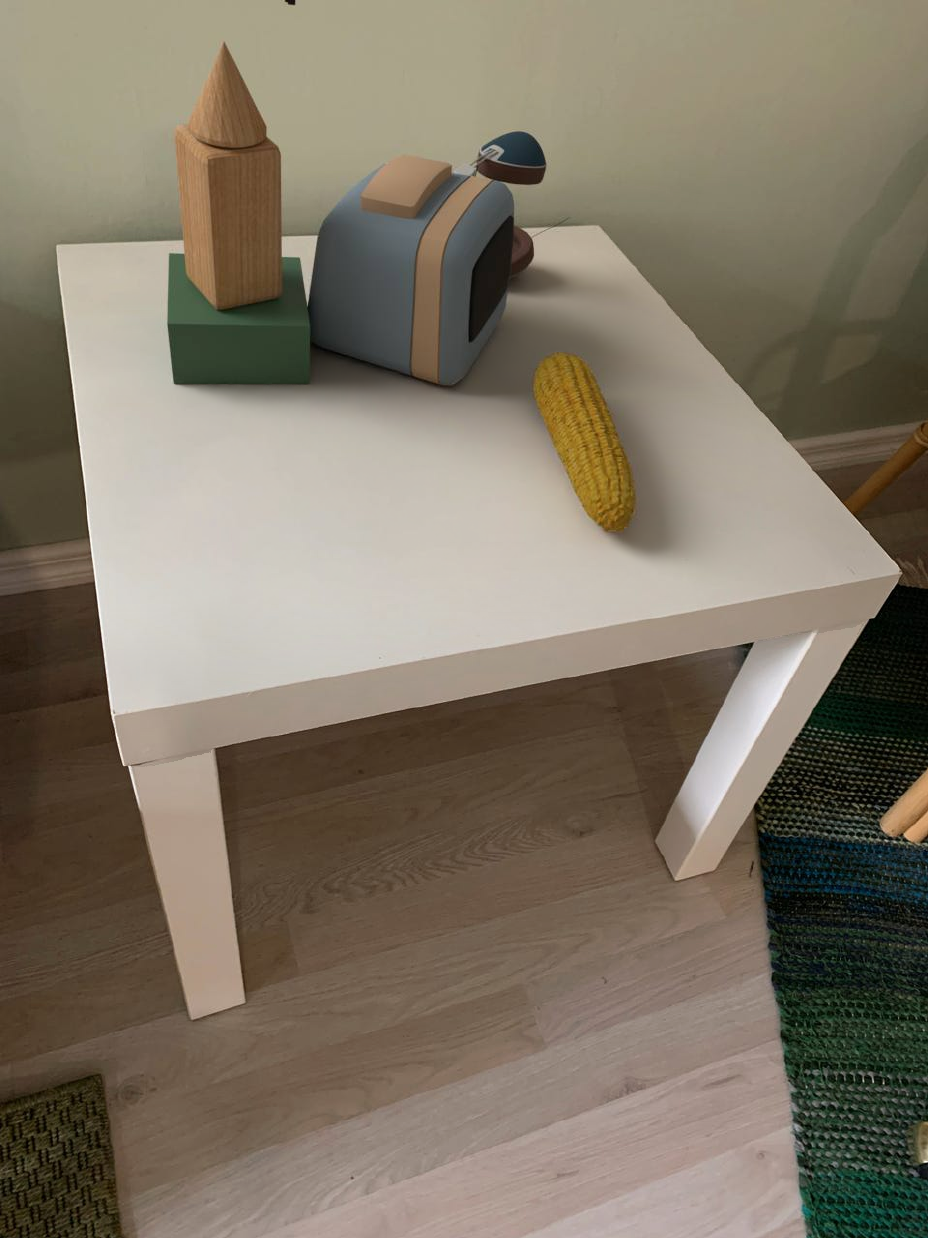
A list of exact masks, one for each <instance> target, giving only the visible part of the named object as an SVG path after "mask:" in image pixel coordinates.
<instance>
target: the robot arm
mask: <svg viewBox="0 0 928 1238" xmlns="http://www.w3.org/2000/svg"><path fill="white" fill-rule="evenodd" d="M284 2H285V3H287V5H290V6H296V0H284Z"/></svg>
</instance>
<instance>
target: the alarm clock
mask: <svg viewBox="0 0 928 1238" xmlns="http://www.w3.org/2000/svg"><path fill="white" fill-rule="evenodd" d="M514 200H515V199H514V195H513V193H512V191H511V190H510V188H509V187H508V186H507V184H506V183H505V182H500V181H496V180H492V179H489V178H486V177H479V176H476V177H474V176H468V175H462V174H456V173H453V164H452V163H449V162H445V161H439V160H434V159H430V158H424V157H418V156H413V155H408V154H402V155H399V156H396V157H394V158H393V159H391V160H390V161H388V162H387V163H383V164H382V165H380V166H379V167H377V168H376V169H374V170H372V171H371V172H370V173H368V174H367V175H366V176H365V177H363V178H362V179H360V180H359V181H358V182H357V183H356V184H354V185H353V186H352V187H350V189H349V190H348V191H347V192H346V193H345V195H344V196H343V197H342V198H340V200H338V202H337V203H336V204H335V206H333V208H332V209H331V210H330V211H329V212H328V214H327V215H326V216H325V218H324V219H323V220H322V223H321V225H320V228H319V231H318V235H317V238H316V244H315V252H314V258H313V266H312V271H311V272H312V273H311V280H310V287H309V294H308V299H307V300H308V301H307V307H308V314H309V320H310V342H311V343H312V344H315V345H316V346H318V347H319V348H321V349H324V350H328V351H330V352H334V353H338V354H341V355H344V356H347V357H351V358H353V359H357V360H360V361H364V362H366V363H369V364H372V365H376V366H379V367H383V368H385V369H389V370H391V371H394V372H399V373H402V374H404V375H408V376H410V377H414V378H418V379H419V380H420V379H421V380H424V381H427V382H430V383H433V384H437V385H440V386H453V385H454V384H456V383H458V382H459V381H461V380H462V379H464V378H465V377H466V375H467V374H468V373H469V370H470V369H471V367H472V365H473V364H474V363H475V361H476V359H477V358H478V356H479V354H480V353H481V351H482V350H483V348H484V347H485V345H486V343H487V342H488V340H489V339H490V337H491V336H492V335H493V332H494V330H495V329H496V327H497V326H498V324H499V322H501V320H502V318H503V315H504V313H505V310H506V305H507V298H508V292H509V288H510V287H509V286H510V279H511V278H510V271H511V261H512V249H513V235H514V226H515V202H514Z"/></svg>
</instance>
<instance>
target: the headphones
mask: <svg viewBox="0 0 928 1238" xmlns="http://www.w3.org/2000/svg"><path fill="white" fill-rule="evenodd" d="M546 170H547V160H546V157H545V153H544V151H543V147H542V146H541V145H540V143H539V142H538V140H537V139H536V138H535V137H534V136H533V135H531V134H530V133H529V132H525V131H520V130H517V131H511V132H507V133H505V134H502V135H500V136H497V137H495V138H493V139H491V140H490V141H488V142H487V143H485V144H484V145H483V146H481V147H480V148H479V150H478V154H477V157H476V159H474V161H472V162H471V163H470V164H469V163H467V162H463V164H462V165H460V166H459V167H457V168H456V169H454V170H452V173H456V174H462V175H468V176H474V177H477V174H478V173H479V174H480V175H481V176H483V177H484V178H486V179H492V180H496V181H499V182H501V183H504V184H511V185H521V186H531V185H532V186H535V185H539V184H541V183H542V182H543V180H544V177H545V174H546ZM570 218H571V216H569V217H567V218H565V219H564V220H562V221H560V222H559V223H557V224H555V225H554V226H551V227H548V228H546V229H544V230H542V231H541V232H538V233H536V234H534V235H532V236H531V235H529V233H528V232H527V231H525V230H524V229H523V228H521V227H519V226H518V225H514V235H513V249H512V261H511V271H510V279H512V278H514V277H516V276H518V275H520V274H521V273H522V272H524V271H525V270H526V269H527V268H528V267H529V266H530V264H531V263H532V262H533V260H534V258H535V247H534V241H533V240H534V239H533V238H534V237H535V236H537V235H540V234H541V233H543V232H546V231H548V230H550V229H552V228H555V227H556V226H558V225H560V224H562V223H563V222H566V221H567V220H568V219H570Z"/></svg>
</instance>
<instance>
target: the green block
mask: <svg viewBox="0 0 928 1238" xmlns="http://www.w3.org/2000/svg"><path fill="white" fill-rule="evenodd" d="M167 275H168V276H167V311H166V313H167V315H166V318H167V319H166V324H167V325H166V327H167V335H168V345H169V353H170V354H169V355H170V361H171V372H172V380H173V381H172V382H173V384H179V385H180V384H188V385H189V384H191V385H193V384H197V385H198V384H200V385H201V384H203V385H206V384H208V385H209V384H210V385H211V384H213V385H217V384H219V385H220V384H221V385H223V384H224V385H225V384H230V385H245V384H246V385H262V384H264V385H310V381H311V380H310V376H311V373H310V369H311V365H310V364H311V340H310V320H309V314H308V307H307V306H308V301H307V296H306V295H307V294H306V289H305V283H304V282H305V281H304V276H303V275H304V274H303V268H302V261H301V257H299V256H297V257H295V256H282V294H281V296H280V297H278V298H275V299H271V300H266V301H261V302H256V303H252V304H247V305H242V306H237V307H233V308H228V309H223V310H220V309H215V308H214V307H213V306H212V305H211V303H210V302H209V301H208V300H207V299H206V298H205V297H204V295H203V294H202V293H201V292H200V291H199V290H198V289H197V287H196V286H195V285H194V284H193V283H192V282H191V280H190V279H189V278H188V276H187V274H186V264H185V253H178V252H177V253H176V252H175V253H174V252H169V253H168V274H167Z"/></svg>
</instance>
